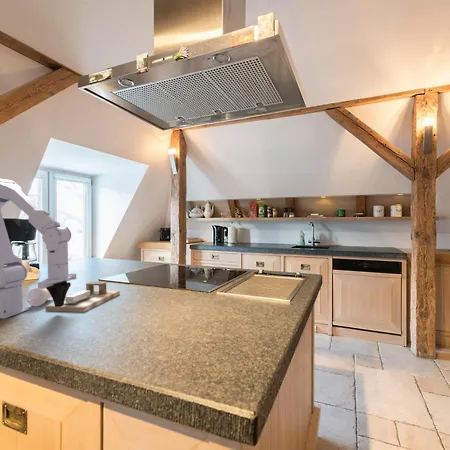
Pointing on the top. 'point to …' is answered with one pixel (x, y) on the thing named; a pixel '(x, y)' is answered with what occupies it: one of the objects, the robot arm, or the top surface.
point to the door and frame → (87, 299)
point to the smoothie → (38, 296)
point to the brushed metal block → (78, 296)
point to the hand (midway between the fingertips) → (59, 306)
